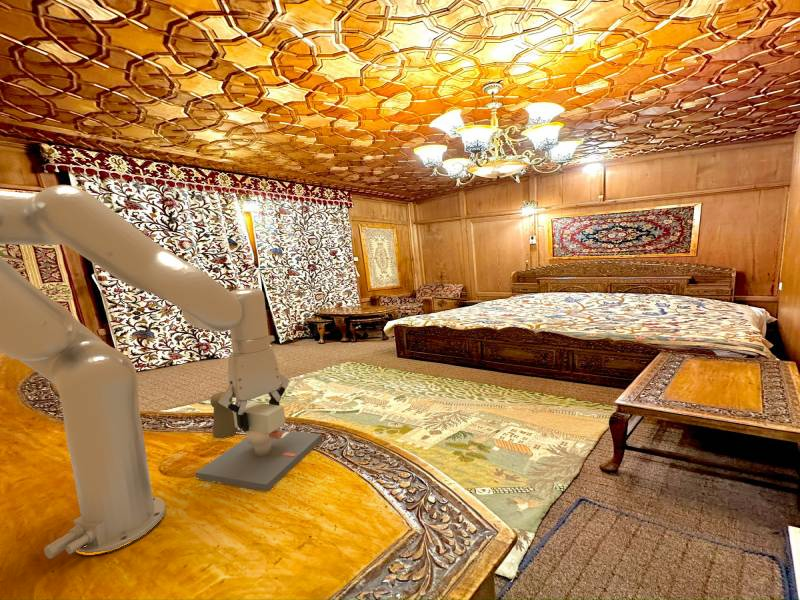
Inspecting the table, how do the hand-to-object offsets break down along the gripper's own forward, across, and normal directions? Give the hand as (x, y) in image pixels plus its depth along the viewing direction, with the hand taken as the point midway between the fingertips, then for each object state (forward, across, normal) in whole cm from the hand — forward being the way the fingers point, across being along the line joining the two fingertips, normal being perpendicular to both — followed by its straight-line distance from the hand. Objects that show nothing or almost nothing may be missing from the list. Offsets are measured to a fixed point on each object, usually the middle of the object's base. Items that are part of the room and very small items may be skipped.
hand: (260, 422), depth 80 cm
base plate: (+8, 0, 0) cm, 8 cm away
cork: (+9, +1, -21) cm, 22 cm away
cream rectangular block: (+4, 0, 0) cm, 4 cm away
